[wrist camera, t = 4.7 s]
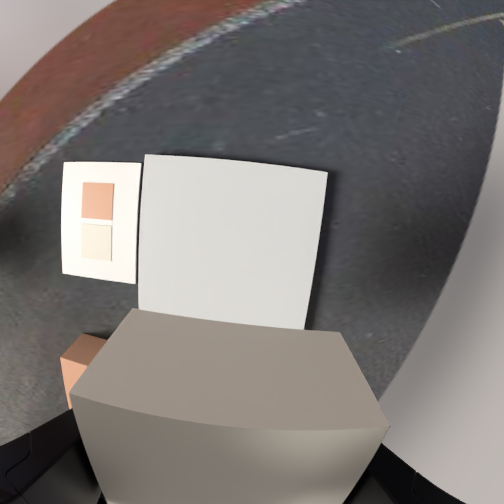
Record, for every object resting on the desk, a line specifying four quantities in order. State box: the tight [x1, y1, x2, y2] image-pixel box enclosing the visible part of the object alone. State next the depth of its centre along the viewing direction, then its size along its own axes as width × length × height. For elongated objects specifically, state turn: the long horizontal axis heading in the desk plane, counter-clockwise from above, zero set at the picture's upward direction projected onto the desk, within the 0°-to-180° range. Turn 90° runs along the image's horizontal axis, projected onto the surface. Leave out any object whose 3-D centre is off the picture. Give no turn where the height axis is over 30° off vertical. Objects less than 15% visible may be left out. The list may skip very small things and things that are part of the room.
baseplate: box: [138, 155, 328, 330], centre depth 19 cm, size 11×11×1 cm
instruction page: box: [61, 162, 142, 284], centre depth 19 cm, size 8×6×1 cm
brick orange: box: [60, 333, 107, 409], centre depth 20 cm, size 6×6×4 cm
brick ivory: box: [69, 308, 390, 504], centre depth 7 cm, size 6×6×4 cm
